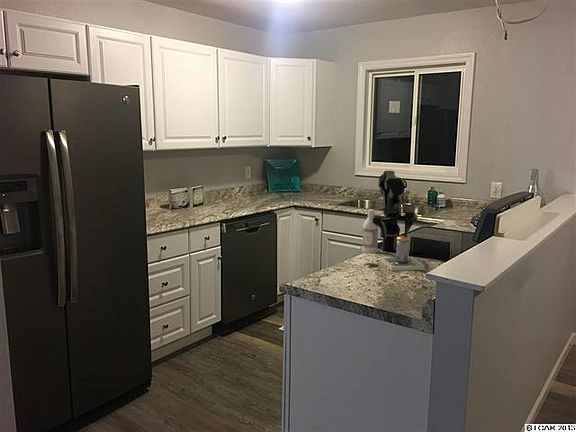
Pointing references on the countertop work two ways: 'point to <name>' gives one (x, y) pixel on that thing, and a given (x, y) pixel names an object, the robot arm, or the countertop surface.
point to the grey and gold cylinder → (402, 251)
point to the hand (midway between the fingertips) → (395, 237)
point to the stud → (371, 265)
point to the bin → (392, 268)
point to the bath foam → (370, 234)
